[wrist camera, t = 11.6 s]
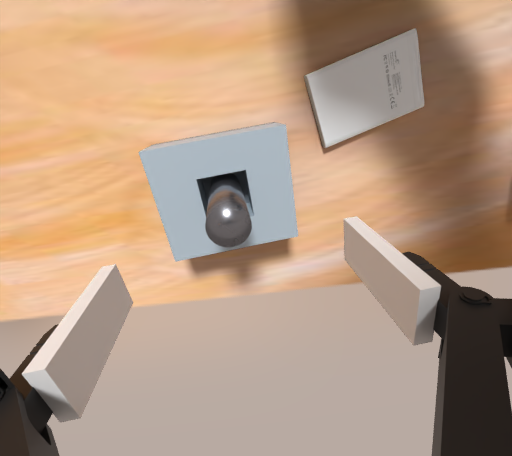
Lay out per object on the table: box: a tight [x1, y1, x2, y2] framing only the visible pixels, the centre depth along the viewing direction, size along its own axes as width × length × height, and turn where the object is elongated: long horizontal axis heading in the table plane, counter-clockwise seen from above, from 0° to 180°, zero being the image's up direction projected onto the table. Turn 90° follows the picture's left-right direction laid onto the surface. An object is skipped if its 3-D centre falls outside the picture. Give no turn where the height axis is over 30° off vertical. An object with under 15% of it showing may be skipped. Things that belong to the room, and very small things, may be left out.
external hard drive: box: [304, 28, 424, 148], centre depth 31 cm, size 2×8×12 cm
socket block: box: [139, 122, 298, 261], centre depth 30 cm, size 12×14×6 cm
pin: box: [205, 173, 252, 247], centre depth 26 cm, size 4×4×12 cm
